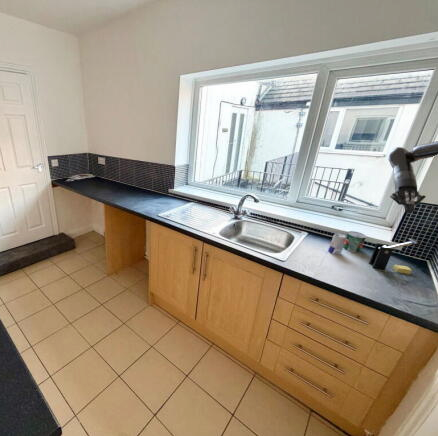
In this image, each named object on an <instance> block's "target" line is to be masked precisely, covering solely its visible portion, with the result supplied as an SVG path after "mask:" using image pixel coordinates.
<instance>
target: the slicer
mask: <svg viewBox="0 0 438 436" xmlns="http://www.w3.org/2000/svg"><path fill="white" fill-rule="evenodd" d="M374 246H375V247H374V249H373V251H372V253H371V257H370V259H369V262H368V265H370V266H371V265H372V269H373V270H375V271H376V272H379V271H380V272H381V273H387V274H388V273H389V274H394V272H393V271H386V268H387V266H388V263H389V261H390V258H391V256H392V254H393V251H394V249H393V248H387V247H389V246H390V245H389V244H387V243H380V242H376V243H375V245H374ZM380 246H386V247H380ZM378 247H380V249H378Z"/></svg>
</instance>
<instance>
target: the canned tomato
mask: <svg viewBox="0 0 438 436" xmlns="http://www.w3.org/2000/svg"><path fill="white" fill-rule="evenodd" d="M345 236H346V240H345V243H344V246H343V248H342V249H344V250H345V251H348V252H352V253H360V252H361V251H362V248H363V245H364V243H365V240H366V238H367V235H366V234H364V233H362V232H358V231H353V230H351V231H347V233H346V235H345Z"/></svg>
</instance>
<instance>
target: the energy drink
mask: <svg viewBox="0 0 438 436" xmlns="http://www.w3.org/2000/svg"><path fill="white" fill-rule="evenodd" d="M346 236H347V235H345V234H343V233H338V232H336V233H334V234H333V236H332V239H331V242H330V245H329V247H328V251H327V252H328V253H329V254H332V255H336V256H340V255H341V254H342V251H343V249H344V248H343V246H344V243H345V240H346Z"/></svg>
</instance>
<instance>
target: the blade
mask: <svg viewBox="0 0 438 436" xmlns="http://www.w3.org/2000/svg"><path fill="white" fill-rule="evenodd" d="M411 245H413V246H415V247H420V246H421V243H420V242H418V241H417V240H415V239H414V238H412V237H409V238H408V241H407V242H402V243H398V244H393V245H389V246H388V247H387V248H393V250H394V249H398V248H403V247H407V246H411ZM380 247H386V246H380ZM380 247H378V249H380Z"/></svg>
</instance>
